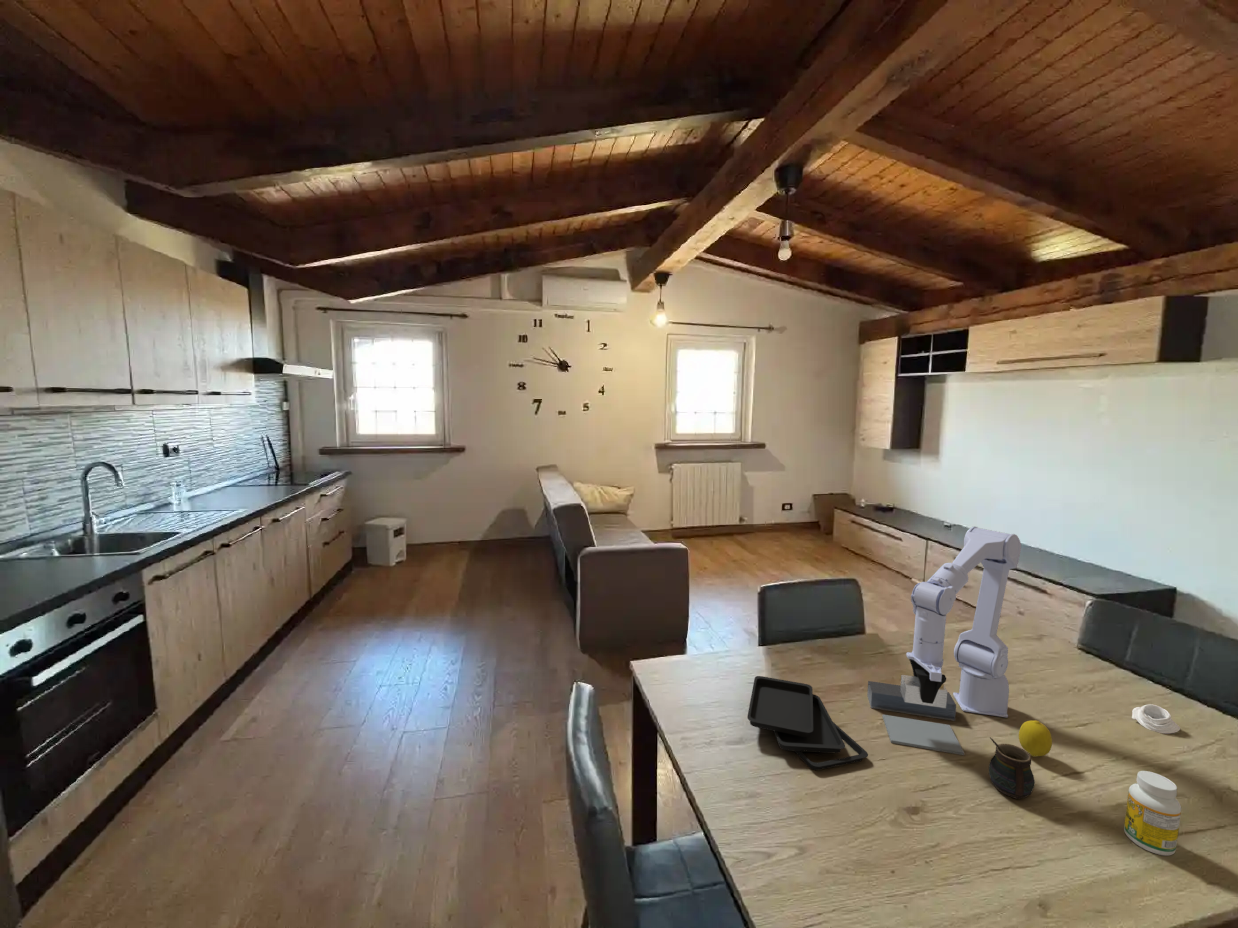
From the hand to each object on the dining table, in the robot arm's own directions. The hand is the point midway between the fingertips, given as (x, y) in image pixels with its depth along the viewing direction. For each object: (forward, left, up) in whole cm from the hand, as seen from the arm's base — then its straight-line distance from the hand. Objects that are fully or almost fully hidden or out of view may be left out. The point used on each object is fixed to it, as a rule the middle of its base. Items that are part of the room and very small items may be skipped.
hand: (924, 695), depth 118 cm
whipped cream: (-53, -20, -10) cm, 58 cm away
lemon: (-21, +1, -10) cm, 23 cm away
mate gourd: (-12, +14, -10) cm, 21 cm away
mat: (0, 0, -9) cm, 9 cm away
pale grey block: (0, 0, -1) cm, 1 cm away
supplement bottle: (-30, +21, -10) cm, 38 cm away
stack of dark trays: (+28, +7, -10) cm, 30 cm away
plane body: (0, -11, -9) cm, 14 cm away
